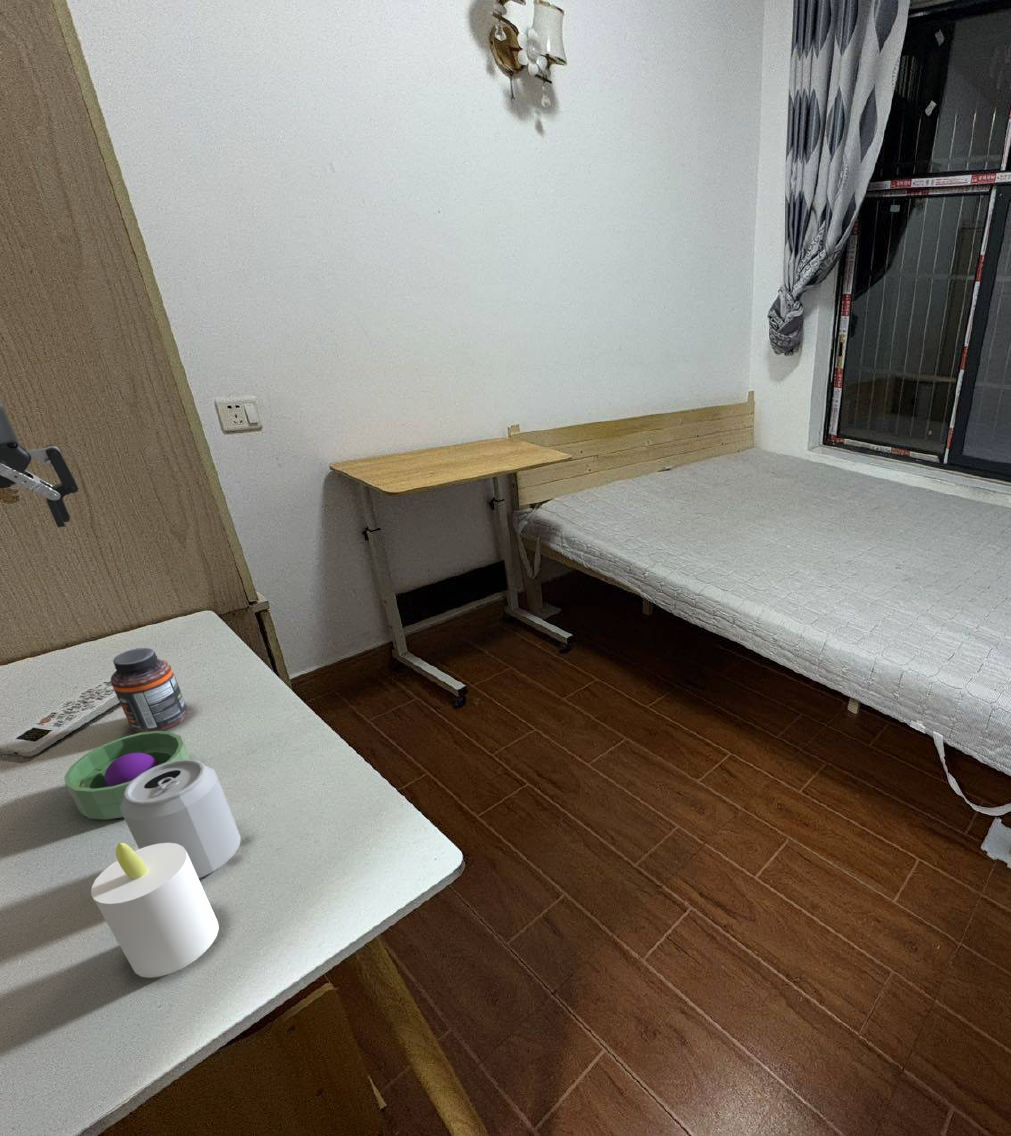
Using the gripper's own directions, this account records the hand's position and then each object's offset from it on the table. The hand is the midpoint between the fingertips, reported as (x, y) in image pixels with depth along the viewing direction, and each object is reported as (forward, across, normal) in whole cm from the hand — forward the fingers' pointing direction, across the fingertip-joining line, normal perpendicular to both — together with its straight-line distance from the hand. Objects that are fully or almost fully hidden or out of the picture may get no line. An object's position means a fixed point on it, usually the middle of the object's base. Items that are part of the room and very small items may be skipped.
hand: (12, 532), depth 79 cm
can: (+26, -5, +44) cm, 51 cm away
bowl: (+26, -2, +27) cm, 37 cm away
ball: (+23, -2, +27) cm, 36 cm away
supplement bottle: (+26, -6, +13) cm, 30 cm away
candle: (+26, -2, +54) cm, 60 cm away
